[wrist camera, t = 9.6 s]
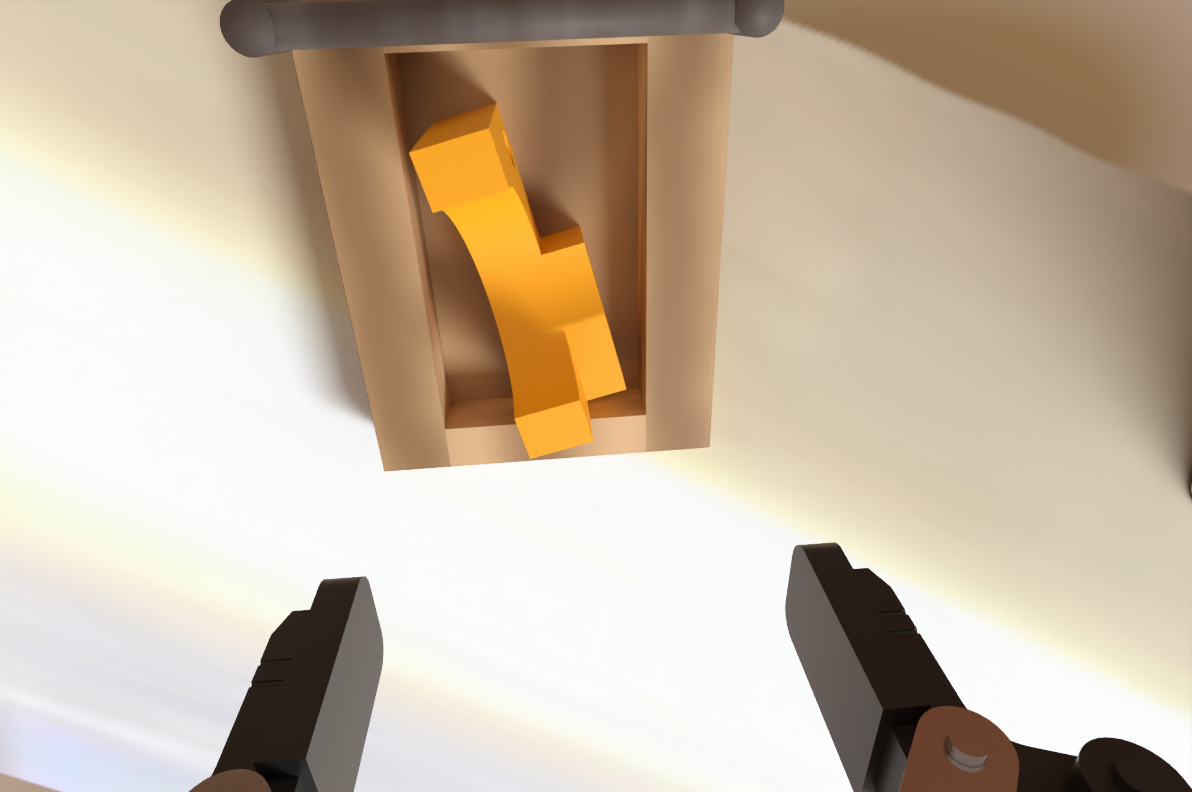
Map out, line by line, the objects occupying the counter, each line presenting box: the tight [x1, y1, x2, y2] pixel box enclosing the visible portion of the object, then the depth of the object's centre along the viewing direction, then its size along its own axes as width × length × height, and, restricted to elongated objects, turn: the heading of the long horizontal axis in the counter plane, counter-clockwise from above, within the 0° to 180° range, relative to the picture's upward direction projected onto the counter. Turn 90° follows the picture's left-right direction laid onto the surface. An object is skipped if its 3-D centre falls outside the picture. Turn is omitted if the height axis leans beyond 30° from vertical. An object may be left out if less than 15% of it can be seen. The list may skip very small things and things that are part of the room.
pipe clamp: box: [409, 103, 626, 459], centre depth 27 cm, size 12×4×6 cm, turn 15°
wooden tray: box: [220, 0, 784, 471], centre depth 25 cm, size 15×19×11 cm
